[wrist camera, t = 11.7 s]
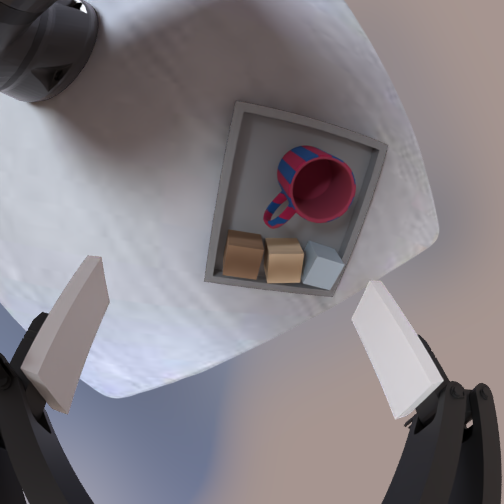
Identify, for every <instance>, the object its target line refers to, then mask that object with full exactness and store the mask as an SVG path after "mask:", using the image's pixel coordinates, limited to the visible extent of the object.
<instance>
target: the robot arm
mask: <svg viewBox="0 0 504 504" xmlns="http://www.w3.org/2000/svg"><path fill="white" fill-rule="evenodd" d="M97 30H98V20H97V15H96V12H95V10H94V9H93V7H92V6H91V5H90V4H89V3H87V2H86V1H84V0H0V92H2V93H4V94H6V95H8V96H11V97H13V98H15V99H17V100H20V101H24V102H34V101H43V100H46V99H49V98H51V97H53V96H55V95H57V94H58V93H60V92H61V91H62V90H64V89H65V88H66V87H67V86H68V85H69V84H70V83H71V82H72V81H73V80H74V79H75V78H76V76H77V75H78V74H79V73H80V71H81V70H82V68H83V67H84V65H85V64H86V62H87V60H88V58H89V56H90V54H91V52H92V49H93V47H94V44H95V41H96V37H97ZM109 303H110V301H109V296H108V291H107V286H106V281H105V275H104V269H103V263H102V257H98V256H89V255H88V256H87V257H86V258H85V260H84V261H83V263H82V264H81V265H80V267H79V268H78V270H77V271H76V273H75V274H74V275H73V277H72V278H71V280H70V281H69V283H68V284H67V286H66V287H65V289H64V290H63V292H62V294H61V295H60V297H59V298H58V300H57V301H56V303H55V305H54V306H53V308H52V310H51V311H50V313H49V314H48V313H44V312H42V313H41V314H39V315H38V316H37V317H36V318H35V319H34V320H33V321H32V323H31V325H30V327H29V328H28V331H27V332H26V334H25V335H24V339H22V341H21V343H20V345H19V347H18V348H17V350H16V352H15V354H14V356H13V358H12V360H11V362H10V364H9V363H8V361H7V360H6V358H5V357H4V356H3V355H2V354H1V353H0V504H26V501H25V497H24V494H23V491H24V493H25V495H26V497H27V499H28V501H29V503H30V504H94V503H93V501H92V500H91V498H90V497H89V495H88V494H87V492H86V491H85V489H84V487H83V486H82V484H81V483H80V481H79V479H78V477H77V476H76V474H75V472H74V470H73V468H72V467H71V465H70V463H69V461H68V459H67V457H66V455H65V453H64V451H63V449H62V447H61V445H60V443H59V441H58V438H57V436H56V434H55V432H54V429H53V427H52V424H51V422H50V420H49V417H48V414H47V412H46V410H45V409H44V407H45V404H46V402H47V403H48V404H49V406H50V407H51V408H52V409H54V410H57V411H59V412H63V413H65V414H68V413H69V409H70V406H71V402H72V399H73V396H74V393H75V390H76V387H77V384H78V381H79V378H80V375H81V372H82V369H83V367H84V364H85V361H86V358H87V356H88V353H89V350H90V348H91V345H92V343H93V340H94V338H95V335H96V333H97V330H98V328H99V326H100V323H101V321H102V319H103V316H104V314H105V312H106V310H107V307H108V305H109ZM351 320H352V322H353V324H354V326H355V328H356V330H357V333H358V335H359V337H360V339H361V341H362V343H363V345H364V348H365V350H366V352H367V354H368V356H369V359H370V361H371V363H372V365H373V368H374V370H375V372H376V375H377V377H378V379H379V382H380V384H381V386H382V388H383V391H384V393H385V396H386V398H387V401H388V403H389V406H390V408H391V410H392V413H393V416H394V418H395V419H398V418H402V417H405V416H408V415H409V414H410V413H411V412H412V411H413V410H414V409H416V412H417V414H415V415H414V416H413V417H412V418H411V419H410V420H408V421H407V422H406V423H405V425H404V426H405V427H406V426H407V425H409V424H410V423H411V422H412V424H411V425H410V426H409V429H410V431H409V434H408V438H407V441H406V444H405V447H404V450H403V453H402V456H401V459H400V461H399V464H398V467H397V469H396V472H395V474H394V477H393V479H392V482H391V484H390V486H389V489H388V491H387V493H386V495H385V497H384V500H383V502H382V504H501V480H502V479H501V478H502V476H501V451H500V441H499V431H498V423H497V417H496V411H495V405H494V400H493V395H492V393H491V390H490V388H489V387H488V386H487V385H486V384H483V383H479V384H478V385H477V386H476V387H475V388H474V389H473V390H466V389H464V388H463V387H462V385H461V384H459V383H458V382H454V381H451V382H450V381H449V379H448V378H447V376H446V374H445V372H444V371H443V369H442V367H441V365H440V364H439V362H438V360H437V358H435V355H434V353H433V352H432V351H431V348H430V347H429V345H428V344H427V342H426V341H425V340H424V339H423V338H422V337H421V336H420V335H417V334H416V332H415V331H414V329H413V328H412V326H411V325H410V323H409V321H408V320H407V318H406V317H405V315H404V314H403V312H402V311H401V309H400V308H399V306H398V305H397V303H396V302H395V300H394V299H393V297H392V296H391V294H390V293H389V291H388V290H387V289H386V287H385V286H384V284H383V283H382V281H375V280H370V281H369V283H368V285H367V287H366V289H365V292H364V294H363V296H362V298H361V300H360V302H359V304H358V306H357V308H356V310H355V312H354V315H353V316H352V319H351ZM472 419H473V425H472V426H471V427H469V428H467V427H466V424H467V423H468V422H469V421H471V420H472ZM22 489H23V490H22Z"/></svg>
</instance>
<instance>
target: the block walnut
mask: <svg viewBox="0 0 504 504" xmlns="http://www.w3.org/2000/svg"><path fill="white" fill-rule="evenodd" d="M263 253H264V247H263V242H262V238H261V234H255V233H249V232H243V231H236V230H230V229H228V234H227V240H226V245H225V251H224V256H223V275H226V276H233V277H240V278H247V279H255V280H256V279H257V276H258V272H259V268H260V264H261V261H262V257H263Z"/></svg>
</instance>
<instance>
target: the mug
mask: <svg viewBox="0 0 504 504" xmlns="http://www.w3.org/2000/svg"><path fill="white" fill-rule="evenodd" d="M277 179H278V183H279V185H280V187H281V190H282V191H281V192H280V193H279V194H278V195H277V196H276V197H275V198H274V199H273V201H272V202H271V203H270V204H269V205H268V207H267V208H266V210H265V212H264V216H263V220H264V222H265V224H266V225H267V226H268V227H269V228H271V229H275V228H279V227H281V226H282V225H284V224H285V223H286V222H288V221H289V220H290V219H291V218H292V217H293V216H294V214H295V213H297V214H298V215H299V216H301V217H302V218H304V219H305V220H308V221H310V222H314V223H326V222H330V221H333V220H335V219H337V218H339V217H340V216H342V215H343V214H344V213H345V212H346V211H347V210H348V208H349V207H350V206H351V204H352V202H353V199H354V197H355V192H356V182H355V178H354V174H353V172H352V171H351V169H350V167H349V166H348V165H347V164H346V163H345V162H344V161H342V160H341V159H339V158H337V157H335V156H333V155H331V154H329V153H327V152H325V151H323V150H321V149H319V148H316V147H313V146H307V145H305V146H298V147H295V148H293V149H291V150H290V151H288V152H287V153H286V154H285V155H284V156H283V158H282V159H281V161H280V163H279V165H278V169H277ZM286 200H288V202H289V205H288V206H287V207H286V209H285V210H284V211H283V212H282V213H281V214H280V215H279V216H278V217H276V218H275V219H273V220H271V217H272V215H273V214H274V212H275V211H276V210H277V208H278V207H279V206H280V205H281V204H282V203H283V202H285V201H286Z"/></svg>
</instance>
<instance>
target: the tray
mask: <svg viewBox="0 0 504 504" xmlns="http://www.w3.org/2000/svg"><path fill="white" fill-rule="evenodd" d="M305 145H307V146H313V147H316V148H319V149H321V150H323V151H325V152H327V153H329V154H331V155H333V156H335V157H337V158H339V159H341V160H342V161H344V162H345V163H346V164H347V165H348V166H349V167H350V169H351V171H352V172H353V174H354V178H355V182H356V192H355V197H354V199H353V202H352V204H351V206H350V207H349V208H348V210H347V211H346V212H345V213H344V214H343V215H342V216H340V217H339V218H337V219H335V220H333V221H330V222H326V223H314V222H310V221H308V220H305V219H304V218H302V217H301V216H299V215H298V214H297V213H295V214H294V216H293V217H292V218H291V219H290V220H289V221H288V222H286V223H285V224H284V225H282V226H281V227H279V228H275V229H271V228H269V227H268V226H267V225H266V224H265V222H264V220H263V216H264V212H265V210H266V208H267V207H268V205H269V204H270V203H271V202H272V201H273V199H274V198H275V197H276V196H277V195H278V194H279V193H280V192H281V191H282V190H281V187H280V185H279V183H278V179H277V169H278V165H279V163H280V161H281V159H282V158H283V156H284V155H285V154H286V153H287V152H288V151H290V150H291V149H293V148H295V147H298V146H305ZM387 148H388V145H387V144H385V143H382V142H380V141H377V140H375V139H372V138H370V137H367V136H364V135H362V134H359V133H356V132H353V131H351V130H348V129H345V128H342V127H339V126H336V125H333V124H330V123H326V122H323V121H320V120H316V119H313V118H310V117H306V116H302V115H299V114H295V113H291V112H287V111H283V110H279V109H275V108H270V107H266V106H261V105H256V104H251V103H246V102H240V101H236V102H235V107H234V112H233V116H232V121H231V126H230V131H229V136H228V141H227V146H226V151H225V156H224V161H223V167H222V172H221V177H220V183H219V189H218V194H217V200H216V206H215V212H214V218H213V224H212V231H211V237H210V243H209V250H208V257H207V264H206V271H205V278H204V282H211V283H218V284H226V285H233V286H241V287H248V288H256V289H264V290H273V291H281V292H290V293H299V294H308V295H318V296H328V297H333V295H334V292H335V290H336V288H337V286H338V283H339V281H340V279H341V277H342V274H343V272H344V270H345V267H346V265H347V262H348V260H349V258H350V255H351V253H352V250H353V248H354V245H355V243H356V240H357V237H358V235H359V232H360V230H361V227H362V224H363V222H364V219H365V216H366V213H367V211H368V208H369V205H370V202H371V199H372V196H373V193H374V190H375V187H376V184H377V181H378V178H379V175H380V172H381V168H382V165H383V162H384V158H385V155H386V152H387ZM288 205H289V202H288V200H286V201H285V202H283V203H282V204H281V205H280V206H279V207H278V208H277V210H276V211H275V212H274V214H273V215H272V217H271V220H273V219H275V218H276V217H278V216H279V215H280V214H281V213H282V212H283V211H284V210H285V209H286V207H287V206H288ZM228 229H230V230H236V231H243V232H249V233H255V234H261V238H262V242H263V247H264V252H265V238H297V240H298V242H299V244H300V246H301V248H302V250H303V251H304V249H305V247H306V245H307V243H308V241H312V242H315V243H318V244H321V245H324V246H327V247H330V248H333V249H335V250H336V252H337V253H338V255H339V256H340V258H341V259H342V261H343V263H344V264H345V265H344V267H343V269H342V271H341V272H340V274H339V276H338V278H337V279H336V281H335V283H334V284H333V286H332V288H331V289H330V290H327V289H323V288H319V287H315V286H311V285H307V284H303V282H302V280H301V279H300V283H267V280H266V275H265V270H264V253H263V257H262V261H261V264H260V268H259V272H258V276H257V279H256V280H255V279H247V278H240V277H233V276H226V275H223V256H224V251H225V245H226V240H227V234H228Z"/></svg>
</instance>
